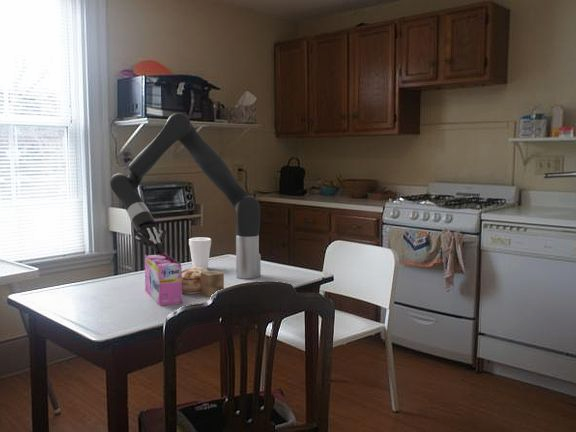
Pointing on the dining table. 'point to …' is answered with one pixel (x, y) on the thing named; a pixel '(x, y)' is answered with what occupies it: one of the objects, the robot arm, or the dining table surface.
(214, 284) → the walnut block
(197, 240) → the foam cup
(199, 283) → the trinket box
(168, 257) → the gum box
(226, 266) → the dining table surface
